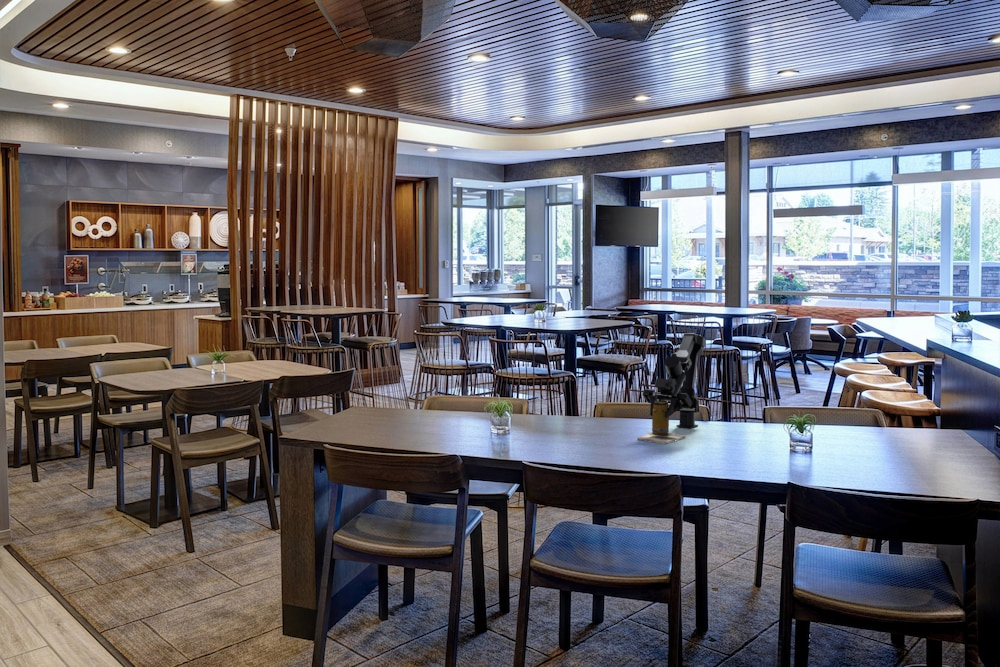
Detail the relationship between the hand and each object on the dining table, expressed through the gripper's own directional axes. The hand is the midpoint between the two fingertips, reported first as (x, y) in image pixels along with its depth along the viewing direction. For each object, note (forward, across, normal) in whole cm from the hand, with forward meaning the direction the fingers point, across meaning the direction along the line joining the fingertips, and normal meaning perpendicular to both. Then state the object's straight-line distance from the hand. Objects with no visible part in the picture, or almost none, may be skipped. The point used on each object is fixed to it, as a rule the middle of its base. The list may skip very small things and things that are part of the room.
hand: (658, 416), depth 294 cm
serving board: (+5, 0, +8) cm, 9 cm away
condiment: (+4, +1, +6) cm, 7 cm away
